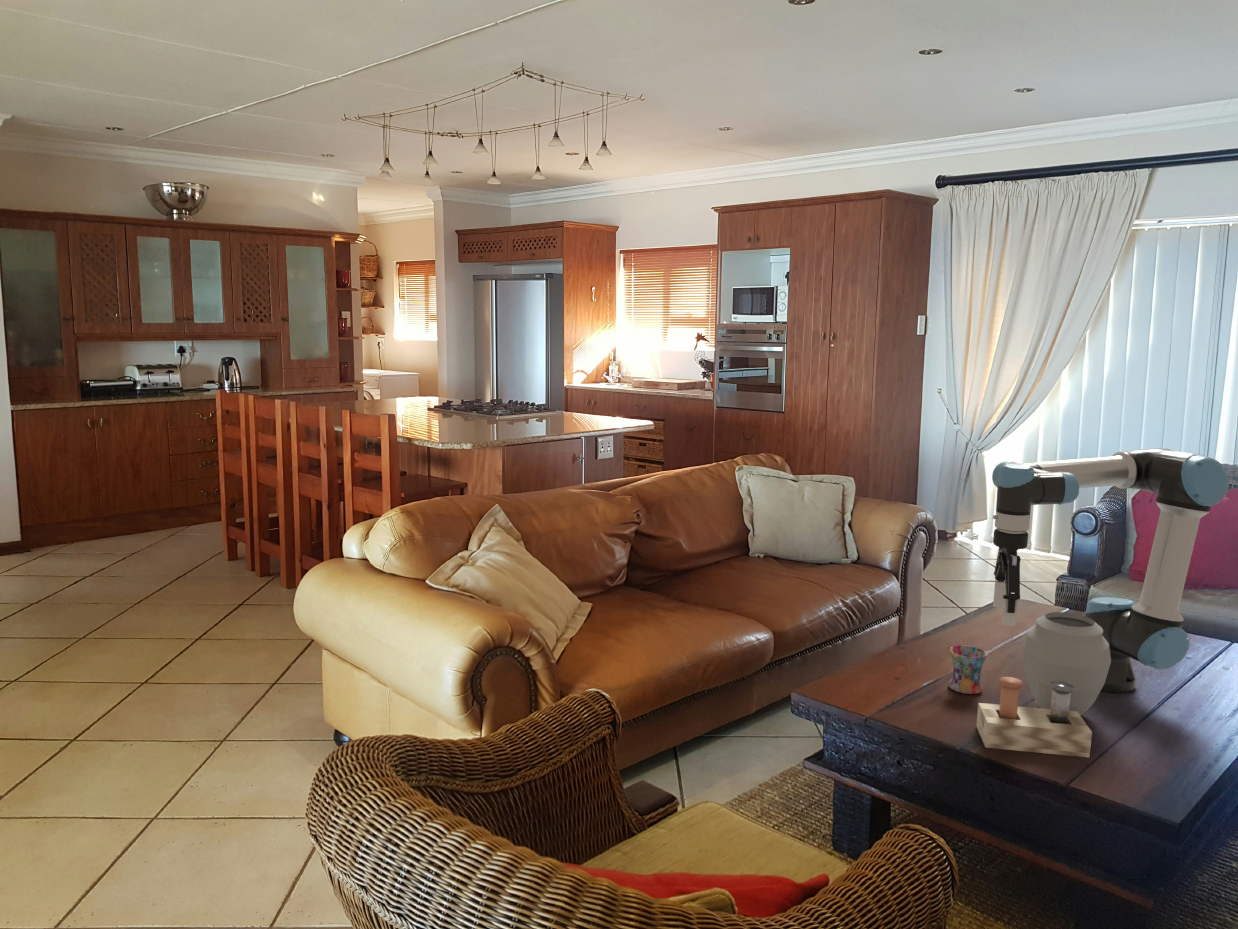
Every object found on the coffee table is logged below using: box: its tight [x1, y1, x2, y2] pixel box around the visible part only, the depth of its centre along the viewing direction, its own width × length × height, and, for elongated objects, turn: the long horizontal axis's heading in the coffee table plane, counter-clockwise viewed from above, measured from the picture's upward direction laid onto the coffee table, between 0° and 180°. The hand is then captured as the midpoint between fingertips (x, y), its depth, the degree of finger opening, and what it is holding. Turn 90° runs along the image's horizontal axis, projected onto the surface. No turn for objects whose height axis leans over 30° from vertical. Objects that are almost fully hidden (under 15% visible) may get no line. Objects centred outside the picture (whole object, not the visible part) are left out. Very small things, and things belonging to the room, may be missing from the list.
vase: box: [1022, 611, 1111, 717], centre depth 225 cm, size 20×20×24 cm
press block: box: [976, 702, 1093, 758], centre depth 211 cm, size 22×11×6 cm, turn 79°
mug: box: [947, 644, 988, 695], centre depth 240 cm, size 12×9×11 cm
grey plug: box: [1050, 681, 1074, 724], centre depth 209 cm, size 5×5×9 cm
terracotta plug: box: [999, 676, 1023, 720], centre depth 211 cm, size 5×5×9 cm
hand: (1003, 616), depth 220 cm, fingers open, 13 cm apart
